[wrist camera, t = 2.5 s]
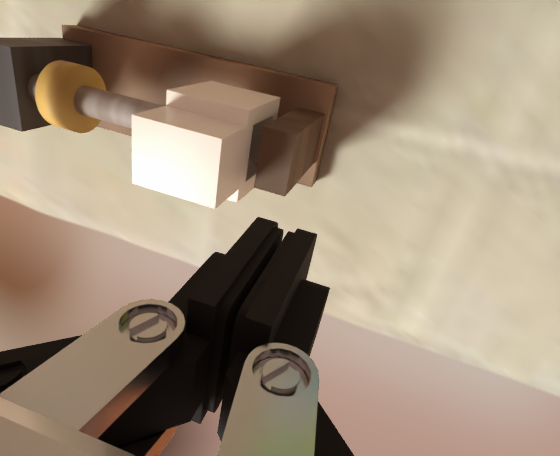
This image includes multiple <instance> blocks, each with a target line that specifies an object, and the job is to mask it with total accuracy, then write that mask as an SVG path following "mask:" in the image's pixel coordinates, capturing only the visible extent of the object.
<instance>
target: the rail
mask: <svg viewBox="0 0 560 456" xmlns="http://www.w3.org/2000/svg"><path fill="white" fill-rule="evenodd" d="M62 34H63V38H0V125H2V126H5V127H9V128H12V129H15V130H19V131H27V130H31V129H35V128H40V127H44V126H48V125H54V126H57V127H61V128H64V129H68V130H71V131H74V132H78V133H86V132H89V131H91V130H93V129H94V128H95V127H96V126H97V127H101V128H104V129H108V130H112V131H115V132H119V133H122V134H126V135H129V136H132V114H136V113H139V112H143V111H147V110H151V109H155V108H159V107H162V106H166V92H167V90H168V89H173V88H178V87H183V86H188V85H193V84H198V83H203V82H208V81H214V82H219V83H223V84H227V85H231V86H235V87H239V88H244V89H248V90H252V91H256V92H260V93H264V94H269V95H273V96H277V97H280V103H279V109H278V116H277V119H275V120H274V121H272V122H270V123H268V124H266V125H264V126H263V130H262V131H258V130H255V129H253V131H252V138H251V145H250V153H249V160H248V161H249V162H253V163H256V164H257V170H256V177H255V183H254V188H258V189H261V190H265V191H268V192H271V193H275V194H278V195H282V196H286V195H287V193H288V192H289V191H290V190H291V189H292V188H293V187H294V185H295V184H296V183H299V184H302V185H306V186H309V187H312V186H313V184H314V183H315V182H316V179H317V174H318V170H319V166H320V161H321V157H322V153H323V148H324V144H325V140H326V135H327V131H328V127H329V122H330V118H331V113H332V109H333V105H334V100H335V96H336V92H337V87H338V85H337V84H332V83H328V82H323V81H319V80H314V79H310V78H306V77H301V76H297V75H292V74H288V73H284V72H279V71H275V70H270V69H266V68H262V67H257V66H253V65H248V64H244V63H240V62H235V61H231V60H226V59H222V58H217V57H213V56H209V55H204V54H200V53H195V52H191V51H187V50H182V49H178V48H173V47H169V46H165V45H160V44H156V43H151V42H147V41H143V40H138V39H134V38H129V37H125V36H120V35H116V34H112V33H107V32H103V31H98V30H94V29H90V28H85V27H81V26H76V25H62Z"/></svg>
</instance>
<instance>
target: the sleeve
mask: <svg viewBox="0 0 560 456" xmlns="http://www.w3.org/2000/svg"><path fill="white" fill-rule="evenodd" d="M279 103H280V97H277V96H273V95H269V94H264V93H260V92H256V91H252V90H248V89H244V88H239V87H235V86H231V85H227V84H223V83H219V82H214V81H208V82H203V83H198V84H193V85H188V86H183V87H178V88H173V89H168V90H167V92H166V106H162V107H159V108H155V109H151V110H147V111H143V112H139V113H136V114H132V183H133V184H136V185H140V186H143V187H146V188H149V189H152V190H156V191H159V192H162V193H165V194H169V195H172V196H175V197H178V198H181V199H185V200H188V201H191V202H194V203H198V204H201V205H204V206H207V207H210V208H214V209H215V208H217V207H218V206H219V205H220V204H221V203H223V202H224V201H225V200H226V199H227V200H230V201H233V202H238V201H239V200H240V199H242V198H243V197H244V196H245V195H246V194H247V193H248V192H249V191H251V190H252V189H253V188H254V183H255V177H256V170H257V164H256V163H253V162H249V161H248V160H249V153H250V145H251V138H252V131H253V129H255V130H258V131H262V130H263V126H264V125H266V124H268V123H270V122H272V121H274V120H275V119H277V116H278V109H279Z"/></svg>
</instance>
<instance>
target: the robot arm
mask: <svg viewBox="0 0 560 456" xmlns="http://www.w3.org/2000/svg"><path fill="white" fill-rule="evenodd" d="M282 237H283V229H279V228H278V223H277V222H274V221H271V220H267V219H264V218H260V217H258V218H256V220H255V221H254V222H253V223H252V224H251V225H250V227H249V228H248V229H247V230H246V231H245V232H244V234H243V235H242V236H241V237H240V238H239V239H238V241H237V242H236V243H235V244H234V245H233V246H232V248H231V249H230V250H229V251H228V252H227V253H226V255H225V254H222V253H219V252H215V253H213V254H212V255H211V256H210V257H209V258H208V260H207V261H206V262H205V263H204V264H203V265H202V266H201V267H200V268H199V269H198V270H197V272H196V273H195V274H194V275H193V276H192V277H191V278H190V279H189V280H188V281H187V282H186V284H185V285H184V286H183V287H182V288H181V289H180V290H179V291H178V292H177V293H176V294H175V295H174V297H173V298H172V299H171V300H170V301H169V302H165V301H162V300H154V299H149V300H140V301H136V302H133V303H130V304H128V305H126V306H124V307H122V308H120V309H119V310H118V311H116V312H115V313H113V314H112V315H111V316H109V317H108V318H106V319H105V320H103V321H102V322H101V323H99V324H98V325H96V326H95V327H94V328H92V329H91V330H89V331H88V332H87V333H85V334H84V335H81V336H76V337H71V338H66V339H61V340H56V341H51V342H46V343H41V344H36V345H32V346H26V347H22V348H16V349H12V350H7V351H2V352H0V456H158V455H159V454H160V452H161V451H162V450H163V449H164V447H165V446H166V445H167V444H168V443H169V441H170V440H171V438H172V437H173V435H174V433H175V432H176V427H177V426H178V425H181V424H184V423H187V422H190V421H191V420H192V421H194V422H197V423H199V424H200V423H201V422H202V420H203V418H204V416H205V414H206V413H207V411H211V412H213V413H214V412H215V411H216V410H217V408H218V406H219V404H220V402H221V401H222V406H221V413H220V419H219V426H218V432H217V433H218V435H219V437H220V440H221V445H220V448H219V451H218V455H217V456H354V455H353V453H352V452H351V450H350V449H349V447H348V446H347V444H346V443H345V441H344V440H343V438H342V437H341V435H340V434H339V432H338V431H337V429H336V428H335V426H334V425H333V423H332V422H331V420H330V419H329V417H328V415H327V414H326V413H325V411H324V409H323V408H322V407H321V405H320V403H319V402H318V390H319V374H318V369H317V367H316V366H315V363H314V361H313V360H312V359H311V358H310V357H309V356H310V353H311V350H312V347H313V344H314V340H315V337H316V334H317V331H318V328H319V324H320V321H321V318H322V314H323V311H324V307H325V304H326V300H327V297H328V293H329V290H330V288H329V287H326V286H323V285H320V284H316V283H313V282H310V281H307V280H306V278H307V274H308V270H309V266H310V262H311V258H312V254H313V250H314V246H315V242H316V238H317V234H315V233H311V232H308V231H304V230H301V229H297V230H296V232H295V233H293V232H290V231H288V233H287V234H286V236H285V237H284V239H283V241H282ZM222 399H223V400H222Z"/></svg>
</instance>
